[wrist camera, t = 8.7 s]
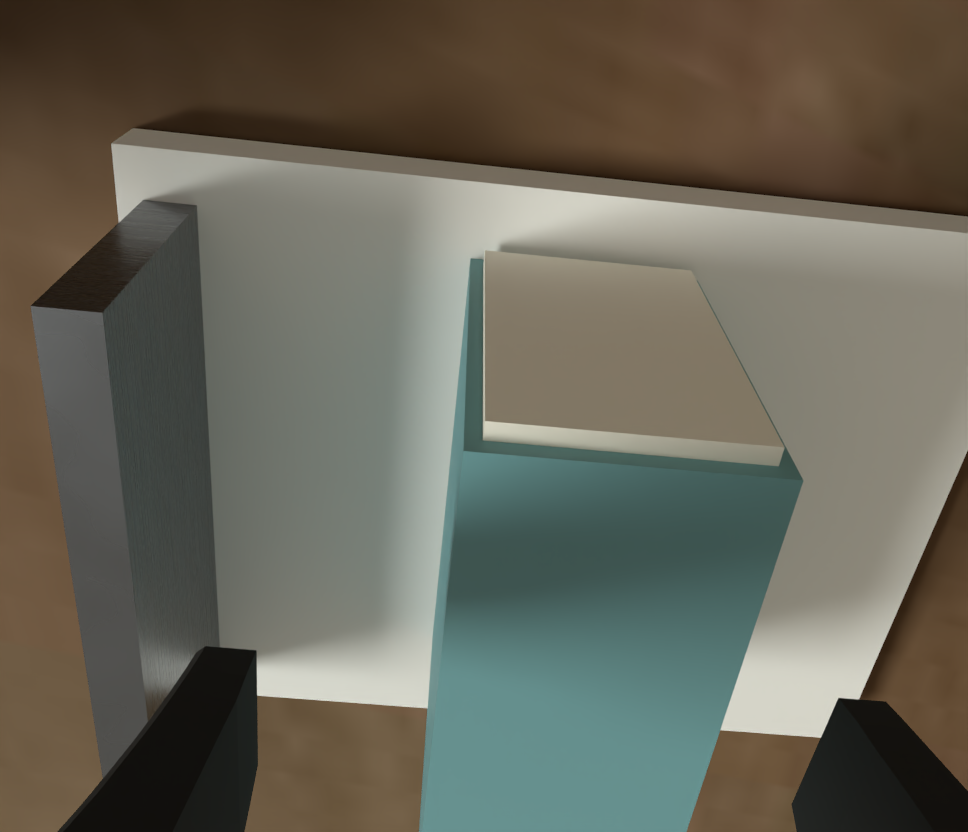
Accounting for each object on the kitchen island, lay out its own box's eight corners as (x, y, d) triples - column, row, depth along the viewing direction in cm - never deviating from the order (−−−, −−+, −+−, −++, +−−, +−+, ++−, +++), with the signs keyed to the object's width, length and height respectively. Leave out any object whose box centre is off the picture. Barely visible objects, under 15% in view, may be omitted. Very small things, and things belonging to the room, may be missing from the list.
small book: (432, 637, 23) (413, 909, 17) (471, 243, 18) (465, 431, 12) (611, 651, 23) (655, 923, 17) (701, 266, 18) (809, 461, 12)
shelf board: (176, 654, 25) (163, 688, 24) (132, 128, 18) (111, 143, 17) (827, 704, 26) (841, 739, 25) (1027, 223, 19) (1058, 242, 18)
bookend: (180, 662, 23) (111, 839, 19) (143, 199, 17) (30, 305, 13) (220, 664, 23) (161, 842, 19) (196, 205, 17) (102, 313, 13)
